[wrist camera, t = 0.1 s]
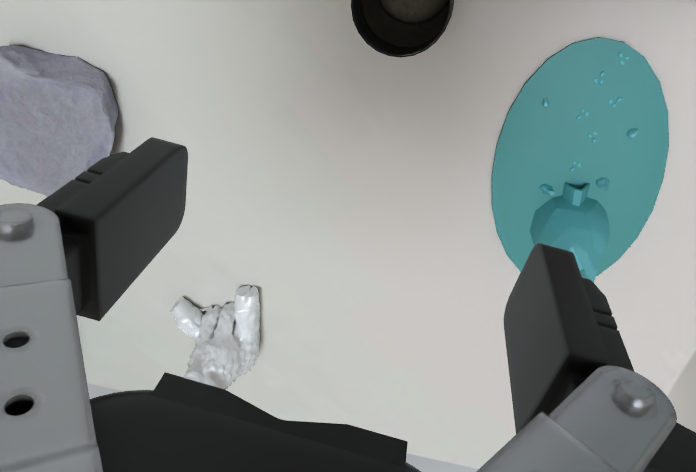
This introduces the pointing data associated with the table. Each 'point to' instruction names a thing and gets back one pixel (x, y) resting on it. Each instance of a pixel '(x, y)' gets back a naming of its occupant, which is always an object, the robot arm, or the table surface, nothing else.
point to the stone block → (52, 118)
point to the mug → (401, 24)
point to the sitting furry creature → (221, 337)
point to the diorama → (581, 156)
